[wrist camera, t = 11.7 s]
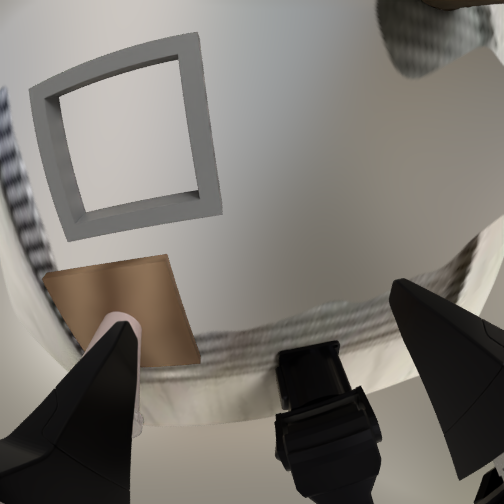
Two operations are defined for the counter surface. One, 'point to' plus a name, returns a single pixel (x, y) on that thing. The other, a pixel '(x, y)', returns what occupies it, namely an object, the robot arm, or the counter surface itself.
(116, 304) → the walnut coaster
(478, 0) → the pillar candle
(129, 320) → the smoothie
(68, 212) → the frame
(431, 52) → the counter surface
